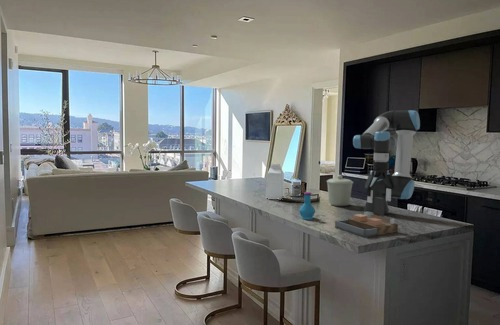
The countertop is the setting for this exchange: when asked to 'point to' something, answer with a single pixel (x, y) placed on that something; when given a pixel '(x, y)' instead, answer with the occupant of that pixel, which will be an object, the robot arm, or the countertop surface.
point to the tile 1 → (360, 217)
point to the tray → (355, 229)
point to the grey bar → (379, 212)
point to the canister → (339, 191)
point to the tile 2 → (375, 221)
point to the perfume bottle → (307, 207)
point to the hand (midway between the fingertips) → (379, 201)
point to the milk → (275, 182)
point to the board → (380, 228)
